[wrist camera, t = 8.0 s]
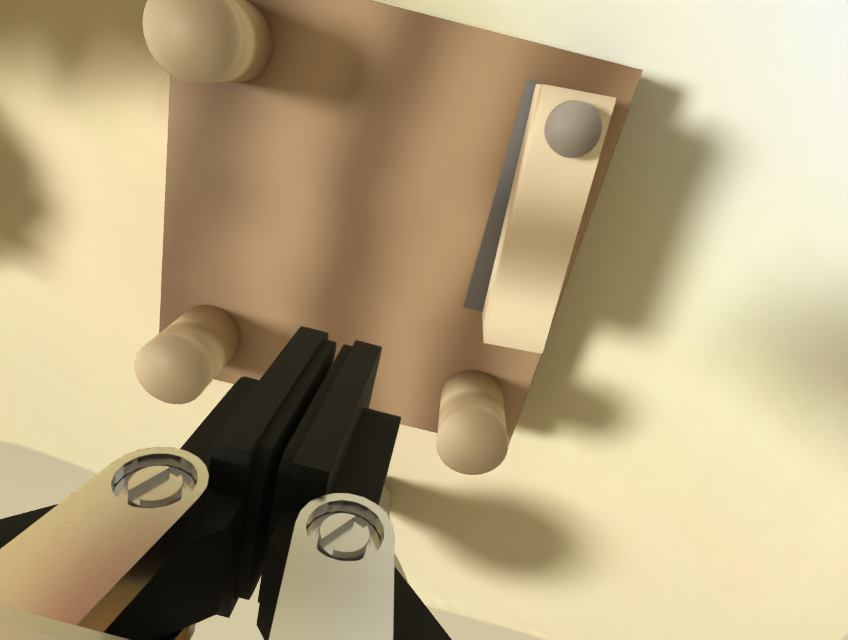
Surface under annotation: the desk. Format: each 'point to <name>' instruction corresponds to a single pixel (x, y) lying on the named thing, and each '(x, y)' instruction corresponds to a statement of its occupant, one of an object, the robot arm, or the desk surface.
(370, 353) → the robot arm
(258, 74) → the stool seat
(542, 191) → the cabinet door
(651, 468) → the desk surface
